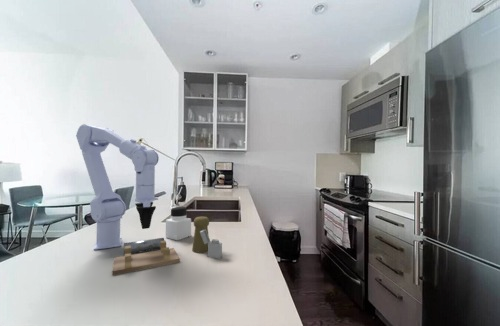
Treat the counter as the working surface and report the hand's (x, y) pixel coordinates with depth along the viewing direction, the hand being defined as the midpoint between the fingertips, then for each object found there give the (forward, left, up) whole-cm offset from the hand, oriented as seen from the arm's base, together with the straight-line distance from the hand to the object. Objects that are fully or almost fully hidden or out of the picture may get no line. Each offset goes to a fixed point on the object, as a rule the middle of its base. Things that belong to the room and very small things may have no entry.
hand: (145, 225), depth 75 cm
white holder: (+15, +18, -8) cm, 25 cm away
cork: (+8, +17, -8) cm, 21 cm away
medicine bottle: (-10, +13, -8) cm, 19 cm away
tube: (0, 0, -8) cm, 9 cm away
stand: (+10, 0, -8) cm, 13 cm away
